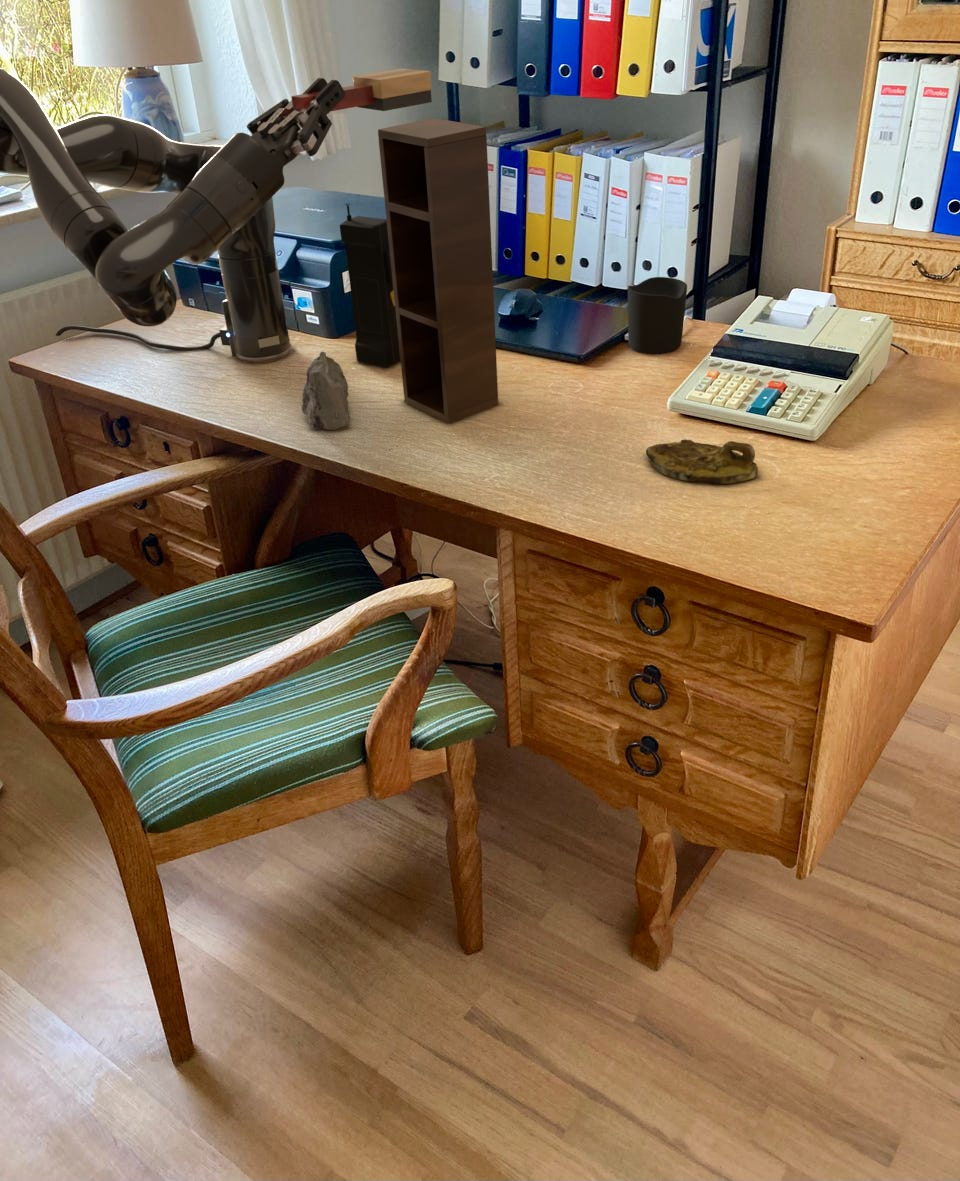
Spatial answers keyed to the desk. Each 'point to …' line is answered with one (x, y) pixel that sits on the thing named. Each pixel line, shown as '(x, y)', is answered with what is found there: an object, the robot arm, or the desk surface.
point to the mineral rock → (325, 394)
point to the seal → (704, 461)
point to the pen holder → (656, 315)
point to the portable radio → (371, 289)
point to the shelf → (441, 264)
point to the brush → (380, 91)
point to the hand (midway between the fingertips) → (332, 85)
